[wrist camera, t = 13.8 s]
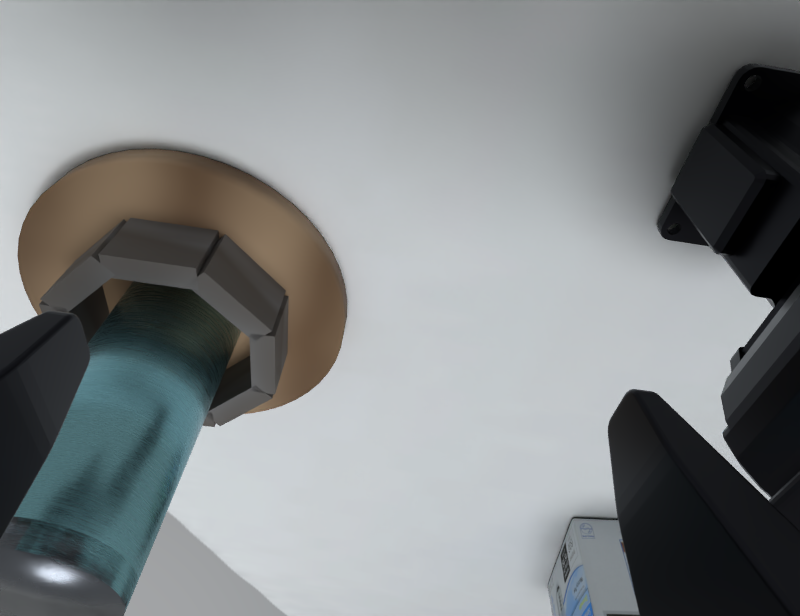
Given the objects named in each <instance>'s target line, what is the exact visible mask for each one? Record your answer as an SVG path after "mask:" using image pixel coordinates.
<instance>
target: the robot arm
mask: <svg viewBox="0 0 800 616" xmlns="http://www.w3.org/2000/svg"><path fill="white" fill-rule="evenodd" d="M753 75H756V79H755V81H754V83H753V84H752V85H750V86H749V87H744V85H745V82H746V81H747V79H748V78H750V77H751V76H753ZM671 193H672V197H671V199H670V201H669V203H668V204H667V206H666V208H665V210H664V212H663V214H662V216H661V218H660V220H659V222H658V226H657V227H658V231H659V232H660V234H661V235H662V237H663V238H665V239H667V240H672V241H679V242H685V243H692V244H699V245H705V246H710V248H711V249H712V250H713V252H714V253H716V254H720V255H722V256H723V258H724V259H725V260H726V262H727V263H728V264H729V266H730V267H731V268H732V270H733V271H734V272H735V274H736V275H737V276H738V278H739V279H740V280H741V282H742V283H743V284H744V285H745V287H746V288H747V289H748V291H749V292H750V293H751V295H754V296H757V297H763V298H766V299H767V300H768V302H769V303H770V304H771V305H772V307H773V310H772V311H771V312H770V314H769V315H768V316H767V318H766V319H765V320H764V322H763V323H762V324H761V325H760V327H759V328H758V329H757V331H756V332H755V333H754V335H753V336H752V337H751V339H750V340H749V341H748V343H747V344H746V345H745V347H740V348H739V349H738V350H737V352H736V353H735V354H734V356H733V357H732V358H731V360H730V363H731V374H730V375H729V376H728V378H727V380H726V383H725V386H724V389H723V391H722V394H721V400H722V405H723V410H724V415H725V420H726V423H727V425H728V426H727V427H726V429H725V430H724V432H723V437H724V439H725V441H726V443H727V445H728V446H729V448H730V449H731V451H732V453H733V454H734V456H735V457H736V459H737V461H738V462H739V464H740V465H741V467H742V468H743V469H744V470H745V471H746V472H747V474H748V475H749V476H750V477H751V478H752V479H753V480H754V482H755V483H756V484H757V485H758V486H759V487H760V488H761V489H762V490H763V491H764V492H765V493H766V494H767V495H768V496H770V497H771V499H770V500H769V501H768V500H767V499H766V498H765V497H764V496H763V495H762V494H761V493H760V492H759V491H758V490H757V489H756V488H755V487H754V486H753V485H752V484H751V483H749V482H748V481H747V480H746V479H745V478H744V477H743V476H742V475H741V474H740V473H739V472H738V471H737V470H736V469H735V468H734V467H733V466H732V465H731V464H730V463H729V462H728V461H727V460H726V459H725V458H724V457H723V456H721V455H720V454H719V453H718V452H717V451H716V450H715V449H714V448H713V447H712V446H711V445H710V444H709V443H708V442H707V441H706V440H705V439H704V438H703V437H702V436H701V435H700V434H699V433H698V432H697V431H696V430H694V429H693V428H692V427H691V426H690V425H689V424H688V423H687V422H686V421H685V420H684V419H683V418H682V417H681V416H680V415H679V414H678V413H677V412H676V411H675V410H674V409H673V408H672V407H671V406H670V405H669V404H667V403H666V402H665V401H664V400H663V399H662V398H661V397H660V396H659V395H658V394H656V393H655V392H652V391H644V390H637V389H632V390H629V391H628V392H627V393H626V394H625V396H624V397H623V399H622V401H621V402H620V404H619V405H618V407H617V409H616V410H615V412H614V414H613V415H612V417H611V419H610V421H609V425H608V438H609V447H610V456H611V465H612V474H613V483H614V492H615V501H616V509H617V516H618V521H619V526H620V531H621V535H622V540H623V544H624V549H625V553H626V558H627V562H628V566H629V571H630V575H631V580H632V584H633V588H634V593H635V597H636V602H637V606H638V611H639V615H640V616H800V71H795V70H790V69H784V68H778V67H772V66H767V65H761V64H748V65H746V66H743V67H742V68H741V69H739V70H738V71H737V72H736V74H735V75H734V76H733V78H732V80H731V82H730V84H729V86H728V88H727V90H726V92H725V94H724V96H723V98H722V99H721V101H720V103H719V105H718V107H717V109H716V111H715V113H714V115H713V117H712V119H711V121H710V123H709V125H707V126H706V127H705V128H703V129H702V130H701V132H700V134H699V136H698V138H697V140H696V142H695V144H694V146H693V148H692V150H691V152H690V154H689V156H688V158H687V160H686V162H685V164H684V166H683V168H682V170H681V172H680V174H679V176H678V178H677V179H676V181H675V183H674V185H673V187H672V189H671ZM674 223H677V225H676V227H675V228H673V229H668V227H669V226H670V225H672V224H674ZM89 361H90V349H89V346H88V342H87V339H86V336H85V333H84V329H83V326H82V323H81V320H80V318H79V317H78V316H77V315H76V314H73V313H67V312H60V311H46V312H44V313H42V314H40V315H38V316H36V317H34V318H31V319H29V320H27V321H25V322H23V323H21V324H19V325H17V326H15V327H13V328H11V329H9V330H7V331H5V332H3V333H1V334H0V540H1V538H2V536H3V534H4V533H5V531H6V529H7V527H8V526H9V524H10V522H11V520H12V519H13V517H14V515H15V513H16V512H17V510H18V508H19V506H20V505H21V503H22V501H23V499H24V498H25V496H26V494H27V492H28V491H29V489H30V487H31V485H32V484H33V482H34V480H35V478H36V477H37V475H38V473H39V471H40V470H41V468H42V466H43V464H44V463H45V461H46V459H47V457H48V455H49V453H50V451H51V450H52V448H53V445H54V443H55V441H56V439H57V437H58V435H59V432H60V430H61V428H62V425H63V423H64V421H65V418H66V416H67V414H68V411H69V409H70V407H71V404H72V402H73V400H74V398H75V395H76V393H77V391H78V388H79V386H80V384H81V381H82V379H83V377H84V374H85V372H86V370H87V367H88V364H89Z"/></svg>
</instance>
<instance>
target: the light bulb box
mask: <svg viewBox="0 0 800 616" xmlns="http://www.w3.org/2000/svg"><path fill="white" fill-rule="evenodd" d="M548 591H549V597H550V603H551V609H552V615H553V616H640V615H639V611H638V606H637V602H636V597H635V593H634V588H633V584H632V580H631V575H630V571H629V566H628V562H627V558H626V553H625V549H624V544H623V540H622V535H621V531H620V526H619V521H618V520H599V519H578V518H575V519H572V521H571V524H570V527H569V529H568V532H567V535H566V537H565V540H564V543H563V546H562V548H561V551H560V554H559V557H558V559H557V562H556V565H555V567H554V570H553V573H552V576H551V578H550V581H549V584H548Z"/></svg>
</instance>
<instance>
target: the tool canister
mask: <svg viewBox="0 0 800 616" xmlns="http://www.w3.org/2000/svg"><path fill="white" fill-rule="evenodd" d="M240 334H241V330H239V329H238V328H237V327H236V326H235V325H233V324H232V323H231V322H230V321H229V320H227V319H226V318H225V317H224V316H223V315H222V314H220V313H219V312H218V311H217V310H216V309H214V308H213V307H212V306H211V305H210V304H208V303H207V302H206V301H205V300H204V299H202V298H201V297H200V296H199V295H198V294H196V293H195V292H194V291H193V290H192V289H185V288H178V287H171V286H164V285H157V284H150V283H143V282H135V281H133V282H132V284H131V285H130V286H129V288H128V289H127V291H126V292H125V293H124V295H123V296H122V297H121V299H120V300H119V302H118V303H117V304H116V306H115V307H114V308H113V310H112V311H111V312H110V314H109V315H108V317H107V318H106V319H105V321H104V322H103V323H102V325H101V326H100V328H99V329H98V330H97V332H96V333H95V334H94V336H93V337H92V339H91V340H90V341H89V343H88V346H89V349H90V361H89V364H88V367H87V370H86V372H85V374H84V377H83V379H82V381H81V384H80V386H79V388H78V391H77V393H76V395H75V398H74V400H73V402H72V404H71V407H70V409H69V411H68V414H67V416H66V418H65V421H64V423H63V425H62V428H61V430H60V432H59V435H58V437H57V439H56V441H55V443H54V445H53V448H52V450H51V451H50V453H49V455H48V457H47V459H46V461H45V463H44V464H43V466H42V468H41V470H40V471H39V473H38V475H37V477H36V478H35V480H34V482H33V484H32V485H31V487H30V489H29V491H28V492H27V494H26V496H25V498H24V499H23V501H22V503H21V505H20V506H19V508H18V510H17V512H16V513H15V515H14V517H13V519H12V520H11V522H10V524H9V526H8V527H7V529H6V531H5V533H4V534H3V536H2V538H1V540H0V616H124V613H125V611H126V608H127V606H128V604H129V601H130V599H131V596H132V594H133V592H134V589H135V587H136V584H137V582H138V579H139V577H140V575H141V572H142V570H143V567H144V565H145V563H146V560H147V558H148V555H149V553H150V550H151V548H152V546H153V543H154V541H155V539H156V536H157V534H158V531H159V529H160V527H161V524H162V522H163V519H164V517H165V514H166V512H167V510H168V507H169V505H170V502H171V500H172V498H173V495H174V493H175V490H176V488H177V486H178V483H179V481H180V478H181V476H182V473H183V471H184V469H185V466H186V464H187V461H188V459H189V457H190V454H191V452H192V449H193V447H194V445H195V442H196V440H197V437H198V435H199V432H200V430H201V428H202V425H203V423H204V420H205V418H206V416H207V413H208V411H209V408H210V406H211V404H212V401H213V399H214V396H215V394H216V391H217V389H218V387H219V384H220V382H221V379H222V377H223V375H224V372H225V370H226V367H227V365H228V363H229V360H230V358H231V355H232V353H233V350H234V348H235V346H236V343H237V341H238V338H239V336H240Z"/></svg>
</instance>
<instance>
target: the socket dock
mask: <svg viewBox="0 0 800 616" xmlns="http://www.w3.org/2000/svg"><path fill="white" fill-rule="evenodd" d="M18 262H19V270H20V275H21V278H22V282H23V285H24V289H25V291H26V293H27V295H28V298H29V300H30V302H31V304H32V306H33V308H34V309H35V311H36V313H37V314H38V315H40V314H42V313H44V312H46V311H60V312H67V313H73V314H76V315H77V316H78V317H79V318H80V320H81V323H82V326H83V329H84V333H85V336H86V339H87V342H88V343H89V341H90V340H91V339H92V337H93V336H94V334H95V333H96V332H97V330H98V329H99V328H100V326H101V325H102V323H103V322H104V321H105V319H106V318H107V317H108V315H109V314H110V312H111V311H112V310H113V308H114V307H115V306H116V304H117V303H118V302H119V300H120V299H121V297H122V296H123V295H124V293H125V292H126V291H127V289H128V288H129V286H130V285H131V284H132V282H133V281H135V282H143V283H150V284H157V285H164V286H171V287H178V288H185V289H192V290H193V291H194V292H195V293H196V294H198V295H199V296H200V297H201V298H202V299H204V300H205V301H206V302H207V303H208V304H210V305H211V306H212V307H213V308H214V309H216V310H217V311H218V312H219V313H220V314H222V315H223V316H224V317H225V318H226V319H227V320H229V321H230V322H231V323H232V324H233V325H235V326H236V327H237V328H238V329H239V330H241V334H240V336H239V338H238V341H237V343H236V346H235V348H234V350H233V353H232V355H231V358H230V360H229V363H228V365H227V367H226V370H225V372H224V375H223V377H222V379H221V382H220V384H219V387H218V389H217V391H216V394H215V396H214V399H213V401H212V404H211V406H210V408H209V411H208V413H207V416H206V418H205V420H204V423H203V426H211V427H214V426H215V424H216V423H217V424H218V425H219V426H221V425H223V424H225V423H227V422H229V421H231V420H233V419H235V418H236V417H238V416H240V415H242V414H247V413H255V412H260V411H265V410H269V409H273V408H276V407H279V406H282V405H285V404H287V403H289V402H291V401H294V400H296V399H298V398H299V397H301V396H303V395H304V394H306V393H308V392H309V391H310V390H311V389H313V388H314V387H315V386H316V385H317V384H319V383H320V381H321V380H322V379H323V378H324V377H325V376H326V375H327V374H328V372H329V371H330V369H331V367H332V366H333V364H334V363H335V361H336V358H337V356H338V353H339V351H340V348H341V344H342V339H343V334H344V328H345V323H346V318H347V296H346V290H345V284H344V281H343V277H342V274H341V271H340V268H339V266H338V264H337V261H336V259H335V257H334V255H333V253H332V251H331V249H330V248H329V246H328V245H327V243H326V242H325V240H324V239H323V237H322V235H321V234H320V233H319V232H318V230H317V229H316V228H315V227H314V226H313V224H312V223H311V222H310V221H309V220H308V218H307V217H306V216H305V215H303V214H302V213H301V212H300V211H299V210H298V209H297V208H296V207H295V206H294V205H293V204H292V203H291V202H290V201H288V200H287V199H286V198H284V197H283V196H282V195H280V194H279V193H278V192H276V191H275V190H274V189H272V188H271V187H269V186H268V185H266V184H264V183H263V182H261V181H259V180H257V179H256V178H254V177H252V176H251V175H249V174H247V173H245V172H242V171H240V170H238V169H236V168H234V167H231V166H229V165H227V164H224V163H221V162H218V161H215V160H212V159H209V158H206V157H203V156H199V155H194V154H189V153H185V152H180V151H172V150H161V149H135V150H126V151H120V152H115V153H109V154H106V155H103V156H100V157H97V158H94V159H91V160H89V161H87V162H85V163H83V164H81V165H80V166H78V167H76V168H74V169H72V170H71V171H70V172H69V173H67V174H66V175H65V176H64V177H62V178H61V179H60V180H59V181H58V182H56V183H55V184H54V185H53V186H51V187H50V188H49V189H48V190H47V191H45V192H44V193H43V194H42V195H41V196H40V197H39V199H38V200H37V201H36V202H35V203H34V205H33V206H32V207H31V208H30V210H29V212H28V214H27V216H26V218H25V220H24V222H23V225H22V229H21V232H20V236H19V243H18Z"/></svg>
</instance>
